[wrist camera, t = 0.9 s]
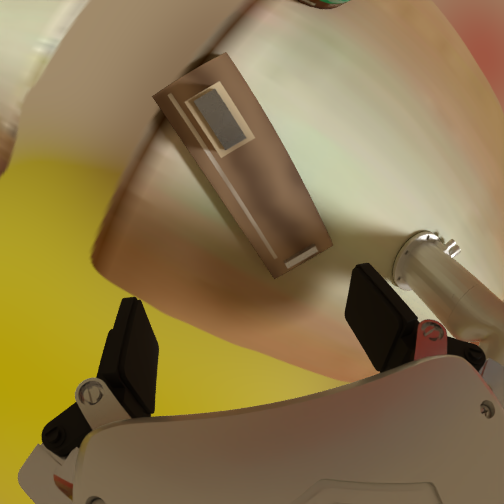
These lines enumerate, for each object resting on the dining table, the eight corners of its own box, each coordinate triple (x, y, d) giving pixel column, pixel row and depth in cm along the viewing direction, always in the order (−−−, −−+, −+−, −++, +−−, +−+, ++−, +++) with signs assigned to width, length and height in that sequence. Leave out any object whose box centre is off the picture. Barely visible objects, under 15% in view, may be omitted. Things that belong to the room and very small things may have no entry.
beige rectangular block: (218, 86, 27) (219, 80, 22) (249, 135, 30) (256, 138, 25) (188, 104, 27) (183, 101, 22) (220, 152, 31) (221, 158, 26)
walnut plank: (225, 55, 26) (226, 50, 24) (328, 239, 41) (335, 247, 38) (155, 97, 28) (150, 96, 25) (271, 271, 42) (275, 282, 39)
